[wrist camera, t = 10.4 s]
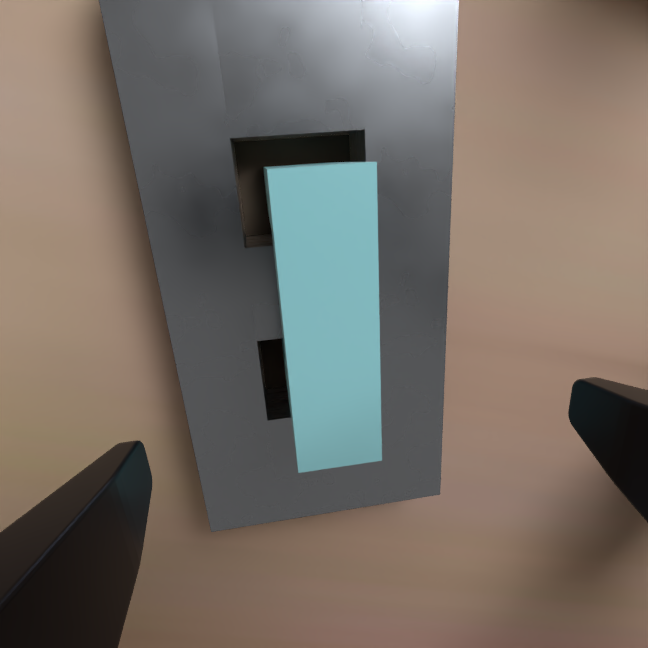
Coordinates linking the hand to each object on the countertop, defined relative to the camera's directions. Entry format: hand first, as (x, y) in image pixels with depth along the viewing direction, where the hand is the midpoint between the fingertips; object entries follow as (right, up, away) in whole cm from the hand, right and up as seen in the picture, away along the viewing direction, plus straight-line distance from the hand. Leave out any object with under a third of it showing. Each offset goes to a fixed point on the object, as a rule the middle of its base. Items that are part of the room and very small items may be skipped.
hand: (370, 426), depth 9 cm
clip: (-2, +5, +12) cm, 13 cm away
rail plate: (-2, +5, +12) cm, 13 cm away
